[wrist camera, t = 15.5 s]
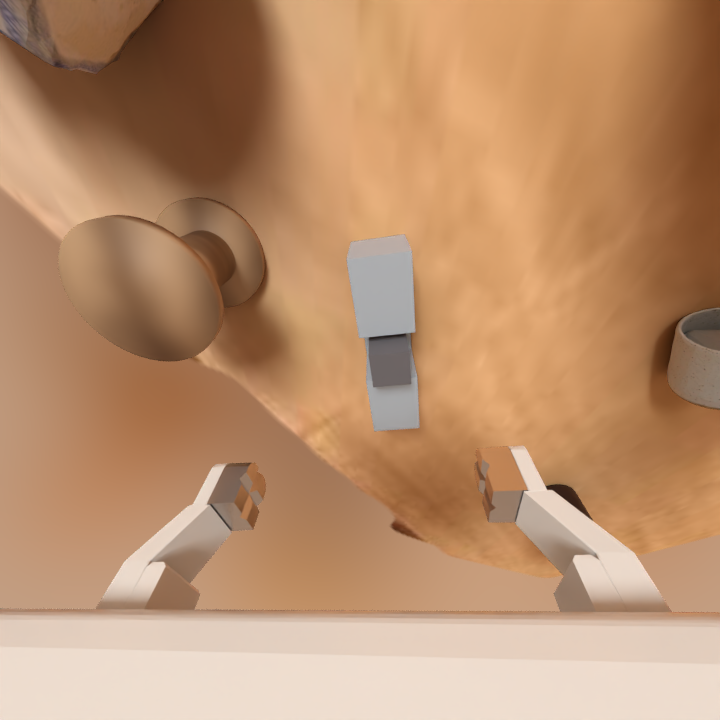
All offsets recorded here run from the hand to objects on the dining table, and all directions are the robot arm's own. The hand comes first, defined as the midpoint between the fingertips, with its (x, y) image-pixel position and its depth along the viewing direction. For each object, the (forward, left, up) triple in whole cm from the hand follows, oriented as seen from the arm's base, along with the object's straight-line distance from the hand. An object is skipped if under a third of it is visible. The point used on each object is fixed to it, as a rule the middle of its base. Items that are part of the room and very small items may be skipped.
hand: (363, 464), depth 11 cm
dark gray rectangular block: (-1, +6, -22) cm, 23 cm away
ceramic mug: (-35, +11, -23) cm, 44 cm away
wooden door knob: (+15, -4, -22) cm, 27 cm away
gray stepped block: (-1, +6, -22) cm, 23 cm away
